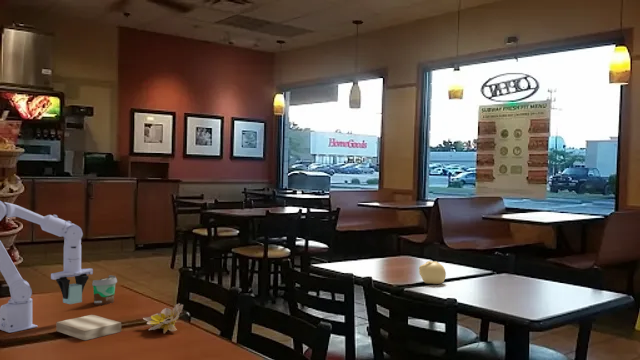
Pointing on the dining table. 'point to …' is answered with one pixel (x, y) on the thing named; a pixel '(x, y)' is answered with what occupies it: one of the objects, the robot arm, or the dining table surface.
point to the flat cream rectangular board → (88, 327)
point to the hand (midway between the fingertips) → (72, 297)
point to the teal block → (74, 294)
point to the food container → (104, 290)
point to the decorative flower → (165, 319)
